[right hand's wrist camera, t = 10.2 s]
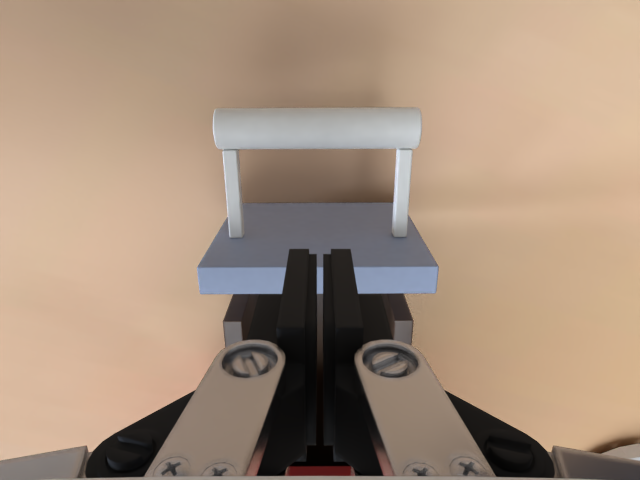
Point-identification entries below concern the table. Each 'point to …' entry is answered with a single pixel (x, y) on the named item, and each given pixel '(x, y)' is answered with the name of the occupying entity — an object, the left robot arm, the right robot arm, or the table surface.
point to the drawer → (317, 224)
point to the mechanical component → (626, 452)
